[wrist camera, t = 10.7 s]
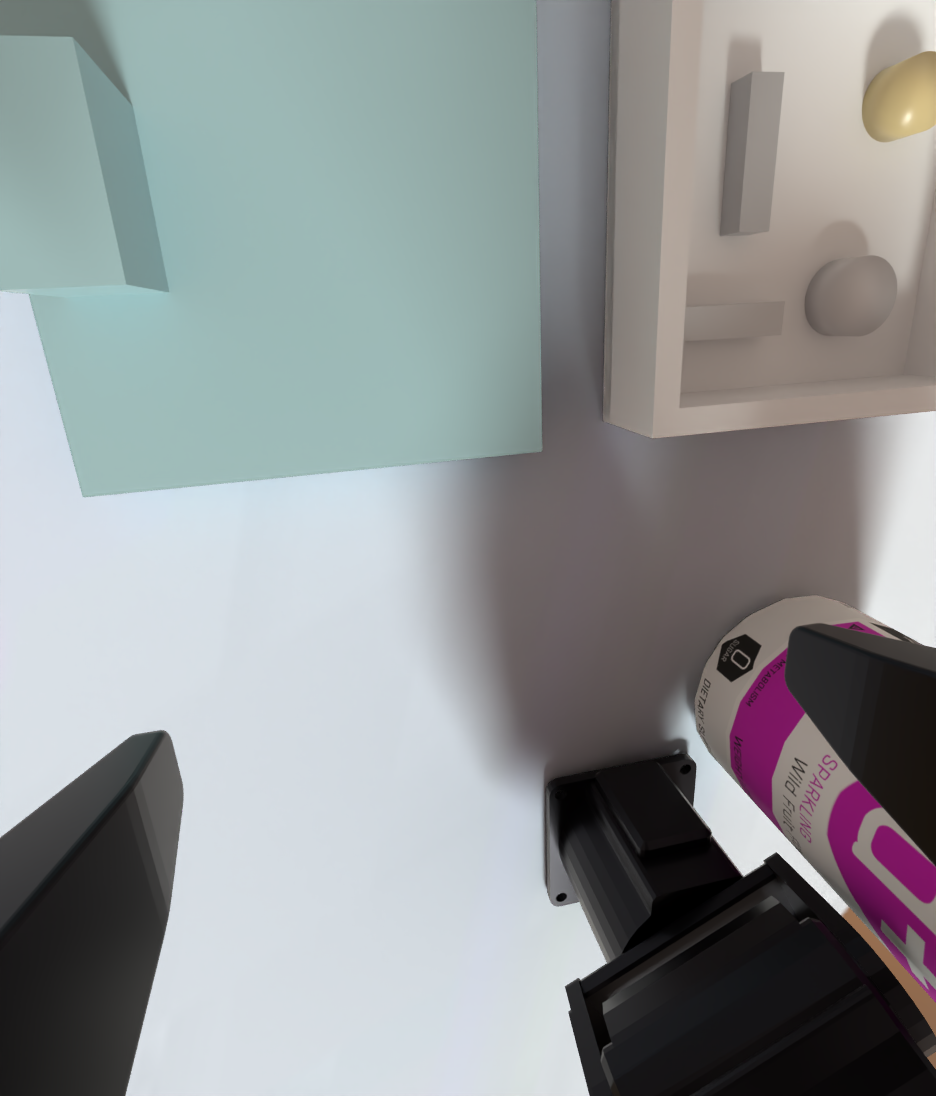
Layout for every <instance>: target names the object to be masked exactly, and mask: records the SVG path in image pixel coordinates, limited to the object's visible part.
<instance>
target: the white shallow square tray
mask: <svg viewBox="0 0 936 1096" xmlns="http://www.w3.org/2000/svg"><path fill="white" fill-rule="evenodd" d="M928 411H936V0H611V27H610V78H609V130H608V181H607V232H606V284H605V335H604V387H603V421H604V422H607V423H609V424H612V425H615V426H618V427H621V428H624V429H627V430H629V431H632V432H635V433H638V434H641V435H644V436H646V437H649V438H652V439H653V438H663V437H674V436H684V435H694V434H704V433H714V432H725V431H735V430H745V429H755V428H765V427H776V426H786V425H796V424H806V423H816V422H826V421H837V420H847V419H857V418H867V417H877V416H888V415H898V414H908V413H918V412H928Z"/></svg>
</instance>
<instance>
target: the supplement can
mask: <svg viewBox="0 0 936 1096" xmlns="http://www.w3.org/2000/svg"><path fill="white" fill-rule="evenodd" d="M813 623H824V624H828V625H833V626H838V627H842V628H847V629H851V630H856V631H860V632H865V633H869V634H874V635H878V636H883V637H887V638H892V639H897V640H901V641H906V642H910V643H915V644H919V645H922V644H920V643H918V642H916V641H915V640H913V639H911V638H909V637H907V636H905V635H903V634H902V633H900V632H898V631H896V630H894V629H892V628H890V627H888V626H887V625H885V624H883V623H881V622H879V621H877V620H875V619H874V618H872V617H870V616H868V615H866V614H864V613H862V612H860V611H859V610H857V609H855V608H853V607H851V606H849V605H847V604H846V603H844V602H840V601H836V600H833V599H829V598H826V597H822V596H819V595H811V596H803V597H794V598H786V599H783V600H781V601H778V602H776V603H774V604H772V605H770V606H768V607H766V608H764V609H761V610H759V611H757V612H755V613H753V614H751V615H750V616H748V617H746V618H745V619H744V620H742V621H741V622H740V623H739V624H738V625H737V626H736V627H734V628H733V629H732V630H731V631H730V632H729V633H728V634H726V635H725V636H724V637H723V638H722V640H721V641H720V643H719V644H718V646H717V647H716V649H715V650H714V652H713V653H712V655H711V656H710V658H709V659H708V661H707V662H706V665H705V668H704V670H703V673H702V677H701V680H700V683H699V687H698V690H697V694H696V697H695V701H694V702H695V716H696V729H697V732H698V733H699V735H700V737H701V739H702V741H703V742H704V744H705V746H706V748H707V750H708V751H709V753H710V754H711V755H712V756H713V757H714V758H715V760H716V761H717V762H718V763H719V764H720V765H721V766H722V767H723V768H724V769H725V771H726V772H727V773H728V774H729V775H730V776H731V777H732V778H733V779H734V780H735V782H736V783H737V784H738V785H739V786H740V787H741V788H742V789H743V790H744V791H745V793H746V794H747V795H748V796H749V797H750V798H751V799H752V800H753V801H754V803H755V804H756V805H757V806H758V807H759V808H760V809H761V810H762V811H763V812H764V814H765V815H766V816H767V817H768V818H769V819H770V820H771V821H772V822H773V823H774V825H775V826H776V827H777V828H778V829H779V830H780V831H781V832H782V833H783V834H784V836H785V837H786V838H787V839H788V840H789V841H790V842H791V843H792V844H793V846H794V847H795V848H796V849H797V850H798V851H799V852H800V853H801V854H802V855H803V857H804V858H805V859H806V860H807V861H808V862H809V863H810V864H811V865H812V866H813V868H814V869H815V870H816V871H817V872H818V873H819V874H820V875H821V876H822V877H823V879H824V880H825V881H826V882H827V883H828V884H829V885H830V886H831V887H832V889H833V890H834V891H835V892H836V893H837V894H838V895H839V896H840V897H841V898H842V900H843V901H844V902H845V903H846V904H847V905H848V906H849V907H850V908H851V909H852V910H853V912H854V913H855V914H856V915H857V916H858V917H859V918H860V919H861V920H862V922H863V923H864V924H865V925H866V926H867V927H868V928H869V929H870V930H871V931H872V932H873V934H874V935H875V936H876V937H877V938H878V939H879V940H880V941H881V942H882V944H883V945H884V946H885V947H886V948H887V949H888V950H889V951H890V952H891V954H893V956H894V957H895V958H896V959H897V960H898V961H899V962H900V963H901V965H902V966H903V967H904V968H905V969H906V970H907V971H908V972H909V973H910V975H911V976H912V977H914V979H915V980H916V981H917V982H918V983H919V984H920V986H922V988H923V989H924V990H925V991H926V992H927V993H928V994H929V995H930V997H931V998H932V999H933V1000H934V1001H935V1002H936V867H935V865H934V864H933V863H932V862H931V861H930V860H929V859H928V858H927V857H926V855H925V854H924V853H923V852H922V851H921V850H920V849H919V848H918V847H917V845H916V844H915V843H914V842H913V841H912V840H911V839H910V838H909V837H908V835H907V834H906V833H905V832H904V831H903V830H902V829H901V828H900V827H899V825H898V824H897V823H896V822H895V821H894V820H893V819H892V818H891V817H890V816H889V814H888V813H887V812H886V811H885V810H884V809H883V808H882V807H881V806H880V804H879V803H878V802H877V801H876V800H875V799H874V798H873V797H872V796H871V794H870V793H869V792H868V791H867V790H866V789H865V788H864V787H863V786H862V784H861V783H860V782H859V781H858V780H857V779H856V778H855V776H854V775H853V774H852V773H851V772H850V771H849V769H848V768H847V767H846V766H845V764H844V763H843V762H842V760H841V759H840V758H839V757H838V755H837V754H836V753H835V751H834V750H833V749H832V747H831V746H830V745H829V743H828V742H827V741H826V739H825V738H824V737H823V735H822V734H821V733H820V731H819V730H818V729H817V727H816V726H815V725H814V723H813V722H812V721H811V719H810V718H809V717H808V715H807V714H806V713H805V711H804V710H803V709H802V707H801V706H800V705H799V703H798V702H797V701H796V699H795V698H794V697H793V695H792V694H791V693H790V691H789V690H788V688H787V685H786V682H785V677H784V671H785V663H786V656H787V648H788V641H789V635H790V633H791V631H792V630H793V629H794V628H795V627H797V626H801V625H807V624H813Z"/></svg>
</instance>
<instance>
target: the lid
mask: <svg viewBox="0 0 936 1096" xmlns="http://www.w3.org/2000/svg"><path fill="white" fill-rule="evenodd" d="M0 292H11V293H22V294H29V297H30V301H31V305H32V308H33V312H34V316H35V320H36V323H37V327H38V331H39V335H40V338H41V342H42V346H43V350H44V353H45V357H46V361H47V365H48V368H49V372H50V376H51V380H52V383H53V387H54V391H55V395H56V398H57V402H58V406H59V410H60V413H61V417H62V421H63V425H64V428H65V432H66V436H67V440H68V443H69V447H70V451H71V455H72V458H73V462H74V466H75V470H76V473H77V477H78V481H79V485H80V488H81V492H82V496H83V497H92V496H102V495H112V494H122V493H132V492H142V491H152V490H162V489H172V488H182V487H193V486H203V485H213V484H223V483H233V482H243V481H253V480H263V479H273V478H283V477H293V476H303V475H313V474H323V473H333V472H343V471H354V470H364V469H374V468H384V467H394V466H404V465H414V464H424V463H434V462H444V461H454V460H464V459H474V458H484V457H494V456H505V455H515V454H525V453H535V452H542V392H541V316H540V241H539V165H538V89H537V14H536V0H0Z"/></svg>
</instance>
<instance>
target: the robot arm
mask: <svg viewBox="0 0 936 1096" xmlns="http://www.w3.org/2000/svg"><path fill="white" fill-rule="evenodd" d="M784 677H785V682H786V685H787V688H788V690H789V691H790V693H791V694H792V695H793V697H794V698H795V699H796V701H797V702H798V703H799V705H800V706H801V707H802V709H803V710H804V711H805V713H806V714H807V715H808V717H809V718H810V719H811V721H812V722H813V723H814V725H815V726H816V727H817V729H818V730H819V731H820V733H821V734H822V735H823V737H824V738H825V739H826V741H827V742H828V743H829V745H830V746H831V747H832V749H833V750H834V751H835V753H836V754H837V755H838V757H839V758H840V759H841V760H842V762H843V763H844V764H845V766H846V767H847V768H848V769H849V771H850V772H851V773H852V774H853V775H854V776H855V778H856V779H857V780H858V781H859V782H860V783H861V784H862V786H863V787H864V788H865V789H866V790H867V791H868V792H869V793H870V794H871V796H872V797H873V798H874V799H875V800H876V801H877V802H878V803H879V804H880V806H881V807H882V808H883V809H884V810H885V811H886V812H887V813H888V814H889V816H890V817H891V818H892V819H893V820H894V821H895V822H896V823H897V824H898V825H899V827H900V828H901V829H902V830H903V831H904V832H905V833H906V834H907V835H908V837H909V838H910V839H911V840H912V841H913V842H914V843H915V844H916V845H917V847H918V848H919V849H920V850H921V851H922V852H923V853H924V854H925V855H926V857H927V858H928V859H929V860H930V861H931V862H932V863H933V864H934V865H935V867H936V648H933V647H928V646H924V645H919V644H915V643H910V642H906V641H901V640H897V639H892V638H887V637H883V636H878V635H874V634H869V633H865V632H860V631H856V630H851V629H847V628H842V627H838V626H833V625H828V624H824V623H813V624H807V625H801V626H797V627H795V628H794V629H793V630H792V631H791V633H790V635H789V641H788V648H787V656H786V663H785V671H784ZM683 765H685V766H684V767H683V768H681V767H682V766H683ZM695 779H696V763H695V762H694V761H693V759H692V758H691V757H690V756H689V755H688V754H677V755H672V756H667V757H662V758H657V759H652V760H647V761H642V762H637V763H632V764H627V765H622V766H617V767H612V768H607V769H602V770H597V771H591V772H586V773H581V774H576V775H571V776H566V777H561V778H557V779H554V780H552V781H551V782H550V783H549V784H548V786H547V788H546V824H547V893H548V896H549V899H550V901H551V903H552V904H553V905H554V906H564V905H568V904H572V903H576V902H580V904H581V907H582V909H583V911H584V913H585V915H586V918H587V920H588V922H589V924H590V926H591V929H592V931H593V933H594V935H595V938H596V940H597V942H598V944H599V946H600V949H601V951H602V953H603V955H604V957H605V960H606V962H607V964H605V965H604V966H602V967H600V968H599V969H597V970H596V971H594V972H593V973H591V974H589V975H588V976H586V977H585V978H583V979H582V980H580V979H579V978H578V979H576V980H574V981H573V982H571V983H570V984H568V985H567V986H565V988H566V992H567V996H568V1000H569V1004H570V1008H571V1010H570V1011H569V1017H570V1021H571V1024H572V1028H573V1032H574V1036H575V1040H576V1044H577V1048H578V1052H579V1056H580V1060H581V1064H582V1067H583V1071H584V1075H585V1079H586V1083H587V1087H588V1091H589V1095H590V1096H936V1069H935V1068H934V1067H933V1065H932V1064H931V1063H930V1061H929V1060H928V1059H927V1057H928V1056H930V1055H931V1054H933V1053H935V1052H936V1037H935V1035H934V1033H933V1031H932V1029H931V1028H930V1026H929V1025H928V1023H927V1021H926V1020H925V1018H924V1017H923V1015H922V1014H921V1012H920V1011H919V1009H918V1008H917V1007H916V1005H915V1003H914V1002H913V1000H912V999H911V998H910V996H909V995H908V994H907V992H906V991H905V989H904V988H903V987H902V985H901V984H900V983H899V981H898V980H897V979H896V978H895V976H894V975H893V974H892V972H891V971H890V970H889V969H888V967H887V966H886V965H885V964H884V962H883V961H882V960H881V959H880V958H879V956H878V955H877V954H876V953H875V952H874V950H873V949H872V948H871V947H870V946H869V945H868V943H867V942H866V941H865V940H864V939H863V938H862V937H861V935H860V934H859V933H858V932H856V930H855V929H854V928H853V927H852V926H851V925H850V924H849V923H848V922H847V921H846V920H845V919H844V918H843V917H842V916H841V915H840V914H839V913H838V912H837V911H836V910H835V909H834V908H833V907H832V906H831V905H830V904H829V903H828V902H827V901H826V900H825V899H824V898H823V897H822V896H821V895H820V894H819V893H818V892H817V891H815V890H814V889H813V888H812V887H811V886H810V885H809V884H808V883H807V882H806V881H805V880H804V879H803V878H802V877H801V876H800V875H799V874H798V873H797V872H796V871H795V870H794V869H793V868H792V867H791V866H790V865H789V864H788V863H787V862H786V861H785V860H784V859H783V858H782V857H781V856H780V855H779V854H778V853H777V852H776V853H774V854H773V855H771V856H770V857H768V858H767V859H765V860H763V861H764V864H763V865H761V866H760V867H758V868H756V869H755V870H753V871H752V872H750V873H748V874H747V875H745V876H743V875H742V874H741V872H740V871H739V870H738V868H737V867H736V866H735V865H734V863H733V862H732V861H731V859H730V858H729V857H728V855H727V854H726V853H725V851H724V850H723V849H722V848H721V846H720V845H719V844H718V842H717V841H716V840H715V838H714V837H713V836H712V835H711V834H712V832H711V830H710V828H709V827H708V826H707V824H706V823H705V822H704V821H703V819H702V818H701V817H700V815H699V814H698V813H697V812H696V810H695V809H694V808H693V802H694V791H695ZM559 790H562V791H561V792H560V793H557V791H559ZM182 808H183V784H182V779H181V775H180V771H179V767H178V763H177V759H176V755H175V751H174V747H173V743H172V740H171V737H170V735H169V734H168V733H167V732H166V731H164V730H159V731H153V732H147V733H141V734H135V735H132V736H131V737H129V738H128V739H126V740H125V741H124V742H123V743H121V744H120V745H119V746H118V747H116V748H115V749H114V750H112V751H111V752H110V753H109V754H107V755H106V756H105V757H103V758H102V759H101V760H100V761H98V762H97V763H96V764H94V765H93V766H92V767H91V768H89V769H88V770H87V771H85V772H84V773H83V774H82V775H80V776H79V777H78V778H76V779H75V780H74V781H73V782H71V783H70V784H69V785H67V786H66V787H65V788H64V789H62V790H61V791H60V792H58V793H57V794H56V795H55V796H53V797H52V798H51V799H49V800H48V801H47V802H46V803H44V804H43V805H42V806H40V807H39V808H38V809H37V810H35V811H34V812H33V813H31V814H30V815H29V816H28V817H26V818H25V819H24V820H22V821H21V822H20V823H19V824H17V825H16V826H15V827H13V828H12V829H11V830H10V831H8V832H7V833H6V834H4V835H3V836H2V837H1V838H0V1096H125V1095H126V1091H127V1087H128V1083H129V1079H130V1075H131V1070H132V1066H133V1062H134V1058H135V1054H136V1050H137V1046H138V1042H139V1038H140V1034H141V1030H142V1025H143V1021H144V1017H145V1013H146V1009H147V1005H148V1001H149V997H150V993H151V989H152V985H153V980H154V976H155V972H156V968H157V964H158V960H159V956H160V952H161V948H162V944H163V940H164V935H165V931H166V926H167V921H168V917H169V911H170V904H171V897H172V889H173V881H174V873H175V865H176V857H177V849H178V841H179V832H180V824H181V816H182Z"/></svg>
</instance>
